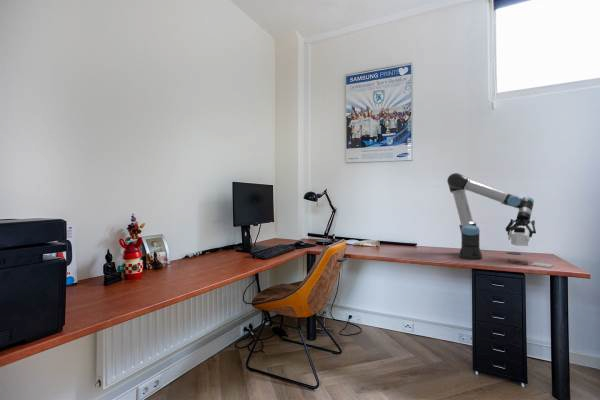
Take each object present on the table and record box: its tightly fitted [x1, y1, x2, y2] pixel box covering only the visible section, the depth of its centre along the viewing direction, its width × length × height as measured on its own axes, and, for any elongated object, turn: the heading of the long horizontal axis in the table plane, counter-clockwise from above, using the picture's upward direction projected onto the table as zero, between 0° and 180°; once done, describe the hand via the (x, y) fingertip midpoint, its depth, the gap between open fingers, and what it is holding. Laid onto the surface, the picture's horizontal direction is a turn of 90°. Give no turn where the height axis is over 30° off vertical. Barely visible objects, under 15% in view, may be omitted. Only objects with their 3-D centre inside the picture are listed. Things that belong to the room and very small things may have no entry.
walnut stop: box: [507, 259, 529, 266], centre depth 200 cm, size 11×1×2 cm, turn 42°
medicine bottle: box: [510, 226, 529, 247], centre depth 203 cm, size 7×7×12 cm
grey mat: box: [530, 262, 554, 269], centre depth 194 cm, size 10×10×1 cm
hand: (518, 239), depth 201 cm, fingers closed on medicine bottle, 10 cm apart
